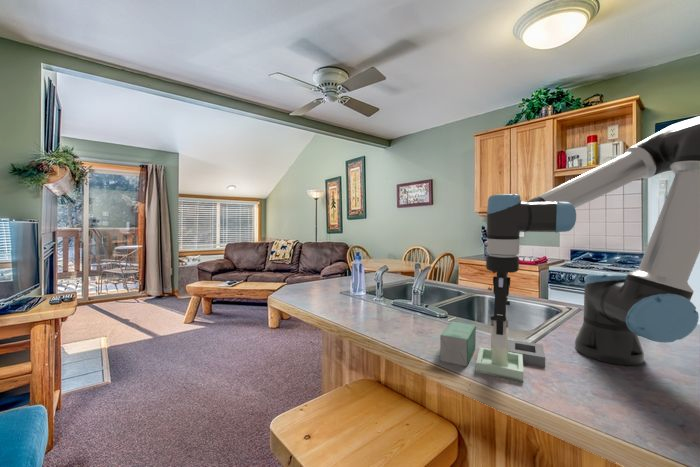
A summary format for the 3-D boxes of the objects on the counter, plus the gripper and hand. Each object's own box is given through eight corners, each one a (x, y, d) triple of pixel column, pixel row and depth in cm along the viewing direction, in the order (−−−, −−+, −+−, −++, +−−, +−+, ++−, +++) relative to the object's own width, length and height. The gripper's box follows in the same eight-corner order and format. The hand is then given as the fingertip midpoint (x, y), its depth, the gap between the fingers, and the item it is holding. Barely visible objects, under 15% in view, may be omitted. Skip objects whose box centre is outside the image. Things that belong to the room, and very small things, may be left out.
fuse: (508, 363, 84) (508, 318, 83) (508, 369, 80) (507, 322, 80) (491, 360, 86) (491, 316, 85) (490, 366, 82) (490, 320, 82)
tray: (522, 363, 85) (522, 354, 85) (523, 382, 76) (523, 371, 76) (480, 355, 90) (480, 347, 90) (476, 372, 81) (476, 362, 80)
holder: (542, 353, 91) (542, 344, 91) (544, 366, 83) (545, 357, 83) (507, 347, 95) (507, 339, 95) (506, 359, 87) (506, 350, 87)
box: (476, 348, 95) (476, 323, 95) (467, 367, 83) (467, 339, 83) (451, 343, 99) (451, 319, 98) (439, 361, 87) (439, 334, 87)
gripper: (489, 249, 94) (488, 320, 95) (482, 260, 72) (480, 352, 73) (518, 250, 90) (516, 324, 91) (519, 263, 68) (517, 359, 70)
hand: (500, 337), depth 82 cm, fingers open, 13 cm apart
